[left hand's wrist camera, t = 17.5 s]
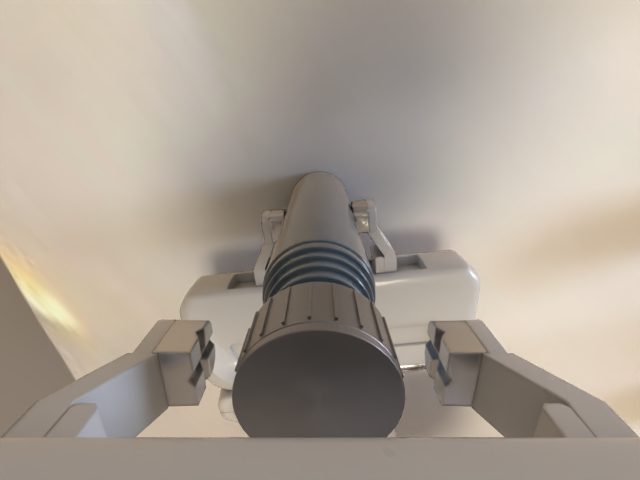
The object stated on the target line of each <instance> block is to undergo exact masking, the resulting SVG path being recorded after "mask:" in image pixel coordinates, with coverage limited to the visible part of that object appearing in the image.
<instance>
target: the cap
mask: <svg viewBox="0 0 640 480" xmlns="http://www.w3.org/2000/svg"><path fill="white" fill-rule="evenodd" d="M235 372H236V375H235V378H234V382H233V386H232V405H233V409H234V413H235V415H236V418H237V420H238V422H239V424H240V425H241V427H242V428H243V430H244V431H245V432H246V433H247V434H248V436H249V437H250V438H347V437H388V436H389V434H390V433H391V432H392V431H393V430H394V428H395V427H396V425H397V424H398V422H399V420H400V418H401V415H402V412H403V409H404V403H405V388H404V383H403V379H402V378H403V373H402V370H401V367H400V364H399V361H398V357H397V354H396V351H395V348H394V345H393V341H392V338H391V335H390V332H389V329H388V326H387V323H386V319H385V317H382V315H381V313H380V312H379V310H378V309H377V308H376V307H375V305H374V302H372V301H370V300H369V299H368V298H366V297H365V296H363V295H362V294H361V293H359V292H357V291H356V290H355V289H354V290H353V289H351V288H349V287H346V286H344V285H340V284H336V283H330V282H307V283H302V284H297V285H294V286H291V287H287V288H286V289H284V290H282V291H280V292H278V293H277V294H275V295H274V296H272V297H270V298H269V299H268V301H267V302H265V304H264V305H263V306H262V307H261V308H260V309H259V311H256V313H255V316H254V319H253V322H252V325H251V328H248V331H247V334H246V337H245V340H244V343H243V346H242V349H241V352H240V355H239V358H238V361H237V364H236V367H235Z"/></svg>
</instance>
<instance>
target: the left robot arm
mask: <svg viewBox="0 0 640 480" xmlns="http://www.w3.org/2000/svg"><path fill="white" fill-rule="evenodd" d="M212 333H213V330H212V324H211V322H210V321H209V320H160V321H158V322H157V323H156V324H155V325H154V326H153V328H152V329H151V330H150V332H149V333H148V334H147V335H146V337H145V338H144V339H143V341H142V342H141V343H140V344H139V346H138V347H137V348H136V349H135V351H134V352H133V353H127V354H125V355H123V356H121V357H119V358H118V359H116V360H114V361H112V362H110V363H108V364H106V365H104V366H102V367H100V368H99V369H97V370H95V371H93V372H91V373H89V374H87V375H85V376H83V377H82V378H80V379H78V380H76V381H74V382H72V383H70V384H68V385H66V386H65V387H63V388H61V389H59V390H57V391H55V392H53V393H51V394H49V395H47V396H46V397H44V398H42V399H40V400H38V401H36V402H35V403H34V404H33V405H32V406H31V407H30V408H29V409H28V410H27V411H26V412H25V413H24V414H23V415H22V416H21V417H20V418H19V419H18V420H17V421H16V422H15V423H14V424H13V425H12V426H11V427H10V428H9V429H8V430H7V431H6V432H5V433H4V434H3V436H1V437H0V480H640V437H639V436H638V435H637V434H636V433H635V432H634V431H633V430H632V429H631V428H630V427H629V426H628V425H627V424H626V423H625V422H624V421H623V420H622V419H621V418H620V417H619V416H618V415H617V414H616V413H615V412H614V411H613V410H612V409H611V408H610V407H609V406H608V405H607V404H606V403H605V402H604V401H602V400H600V399H598V398H596V397H594V396H592V395H590V394H589V393H587V392H585V391H583V390H581V389H579V388H577V387H575V386H573V385H572V384H570V383H568V382H566V381H564V380H562V379H560V378H558V377H556V376H555V375H553V374H551V373H549V372H547V371H545V370H543V369H541V368H539V367H538V366H536V365H534V364H532V363H530V362H528V361H526V360H524V359H522V358H521V357H519V356H517V355H515V354H513V353H507V352H506V351H505V350H504V348H503V347H502V346H501V344H500V343H499V342H498V341H497V339H496V338H495V337H494V336H493V334H492V333H491V332H490V330H489V329H488V328H487V327H486V325H485V324H484V323H483V322H482V321H481V320H455V321H430V322H429V324H428V330H427V333H428V335H429V337H430V340H429V341H428V342H427V343H426V344H425V364H426V368H427V371H428V374H429V376H430V377H431V378H433V379H434V380H435V384H434V388H435V391H436V393H437V396H438V398H439V400H440V403H441V405H442V406H472V408H473V409H474V410H475V411H476V412H477V413H478V414H479V415H481V416H482V417H483V418H484V419H485V420H486V421H487V422H488V423H489V424H491V425H492V426H493V427H494V428H495V429H496V430H497V431H498V432H500V433H501V434H502V435H503V436H504V437H505V438H430V437H347V438H135V437H136V436H137V435H138V434H139V433H141V432H142V431H143V430H144V429H145V428H146V427H147V426H148V425H150V424H151V423H152V422H153V421H154V420H155V419H156V418H157V417H159V416H160V415H161V414H162V413H163V412H164V411H165V410H166V409H167V408H168V406H197V405H199V403H200V400H201V398H202V396H203V393H204V391H205V388H206V384H205V380H206V379H207V378H209V377H210V376H211V374H212V371H213V369H214V363H215V344H214V343H213V342H212V341H211V340H210V337H211V335H212Z"/></svg>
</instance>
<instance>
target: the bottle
mask: <svg viewBox="0 0 640 480" xmlns="http://www.w3.org/2000/svg"><path fill="white" fill-rule="evenodd" d="M307 282H330V283H336V284H340V285H344V286H346V287H349V288H351V289H353V290H354V289H355V290H356V291H357V292H359V293H361V294H362V295H363V296H365V297H366V298H368V299H369V300H370V301H372V302H374V305H375V300H376V292H375V280H374V276H373V273H372V270H371V267H370V264H369V261H368V258H367V255H366V252H365V249H364V245H363V242H362V239H361V236H360V233H359V230H358V227H357V224H356V221H355V218H354V215H353V212H352V209H351V206H350V203H349V199H348V196H347V193H346V190H345V188H344V186H343V184H342V183H341V181H340V180H339V179H338V178H337V177H335V176H334V175H332V174H330V173H326V172H312V173H309V174H307V175H305V176H304V177H302V178H301V179H300V180H299V181H298V183H297V184H296V186H295V188H294V191H293V194H292V196H291V199H290V202H289V205H288V208H287V211H286V214H285V217H284V220H283V223H282V226H281V229H280V232H279V235H278V238H277V241H276V244H275V247H274V250H273V253H272V256H271V259H270V261H269V264H268V267H267V270H266V273H265V276H264V281H263V291H262V300H263V305H264V304H265V302H267V301H268V299H269V298H270V297H272V296H274V295H275V294H277V293H278V292H280V291H282V290H284V289H286V288H287V287H291V286H294V285H297V284H302V283H307Z"/></svg>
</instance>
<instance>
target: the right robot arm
mask: <svg viewBox="0 0 640 480" xmlns="http://www.w3.org/2000/svg"><path fill="white" fill-rule="evenodd" d="M351 209H352V212H353V215H354V218H355V221H356V224H357V227H358V230H359V233H366V232H367V233H368V234H369V236H370V237H371V239H372V240H373V241H374V243H375V244H376V245H372V246H371V258H368V261H369V264H370V267H371V270H372V273H373V276H374V280H375V292H376V300H375V307H376V308H377V309H378V310H379V312H380V313H381V315H382V317H385V319H386V323H387V326H388V329H389V332H390V335H391V338H392V341H393V345H394V348H395V351H396V354H397V357H398V361H399V364H400V367H401V370H402V372H409V371H418V370H422V369H426V364H425V344H426V343H427V342H428V341H429V340H430V337H429V335H428V333H427V330H428V324H429V322H430V321H455V320H474V319H475V314H476V310H477V304H478V298H479V290H480V279H479V276H478V274H477V272H476V271H475V270H474V268H473V267H472V266H471V265H470V264H469V263H468V262H467V261H466V260H465V259H464V258H463V257H461V256H460V255H459V254H458V253H457V252H455V251H453V250H443V251H433V252H424V253H415V254H405V255H396V254H395V252H394V250H393V248H392V246H391V244H390V242H389V241H388V240H387V238H386V237H385V235H384V234H383V233H382V231H381V230H380V229H379V227H378V226H377V214H376V205H375V202H374V200H373V199H366V200H358V201H351ZM285 214H286V209H280V210H268V211H264V212H263V214H262V215H261V224H262V229H263V234H264V240H265V241H264V244H263V246H262V249H261V251H260V254H259V256H258V259H257V261H256V264H255V266H254V269H253V271H245V272H236V273H226V274H217V275H207V276H202V277H200V278H199V279H198V280H197V281H196V282H195V284H194V285H193V286H192V287H191V289H190V290H189V291H188V293H187V294H186V296H185V298H184V300H183V302H182V304H181V307H180V317H181V320H209V321H210V322H211V324H212V330H213V333H212V335H211V337H210V340H211V341H212V342H213V343H214V344H215V363H214V369H213V371H212V374H211V376H210V377H209V378H207V379H208V380H209V381H210V382H211V383H212V384H214V385H216V386H217V387H220V388H221V392H220V397H219V410H220V413H221V415H222V416H223V417H224V418H225V419H227V420H230V421H233V422H238V420H237V418H236V415H235V413H234V409H233V405H232V386H233V382H234V378H235V375H236V372H235V367H236V364H237V361H238V358H239V355H240V352H241V349H242V346H243V343H244V340H245V337H246V334H247V331H248V328H251V325H252V322H253V319H254V316H255V313H256V311H259V309H260V308H261V307H262V306H263V300H262V291H263V281H264V276H265V273H266V270H267V267H268V264H269V261H270V259H271V257H270V254H271V252H272V249H273V247H274V244H275V242H276V241H277V238H278V235H279V232H280V229H281V226H282V223H283V220H284V217H285ZM269 257H270V258H269ZM388 437H397V436H396V432H395V430H393V431H392V432H391V433H390V434H389V436H388Z"/></svg>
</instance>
